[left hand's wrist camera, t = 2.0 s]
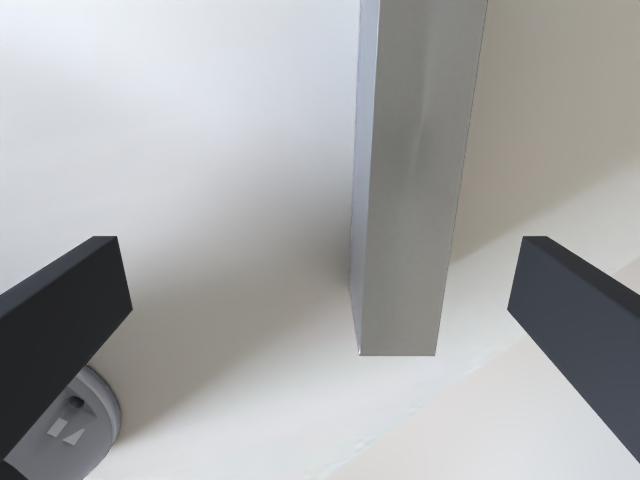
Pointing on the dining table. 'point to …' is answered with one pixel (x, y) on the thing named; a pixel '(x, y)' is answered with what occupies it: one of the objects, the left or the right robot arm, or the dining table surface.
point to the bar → (408, 165)
